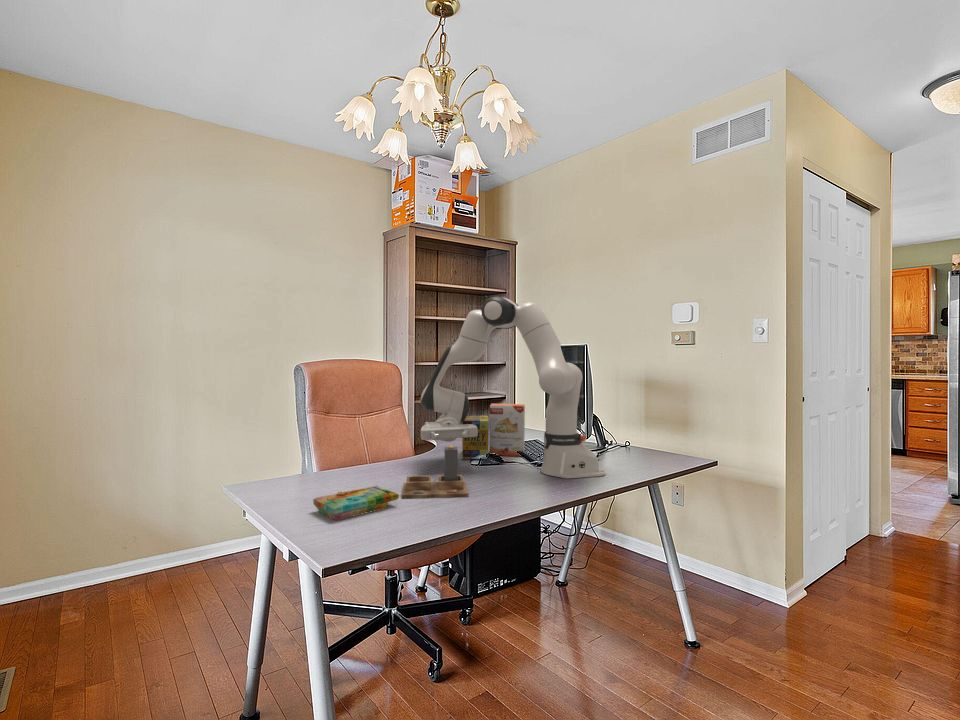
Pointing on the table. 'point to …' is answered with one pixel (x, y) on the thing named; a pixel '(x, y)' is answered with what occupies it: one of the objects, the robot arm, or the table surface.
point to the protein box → (478, 443)
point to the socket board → (433, 487)
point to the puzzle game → (354, 502)
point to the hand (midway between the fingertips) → (449, 436)
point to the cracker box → (507, 429)
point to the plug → (450, 463)
